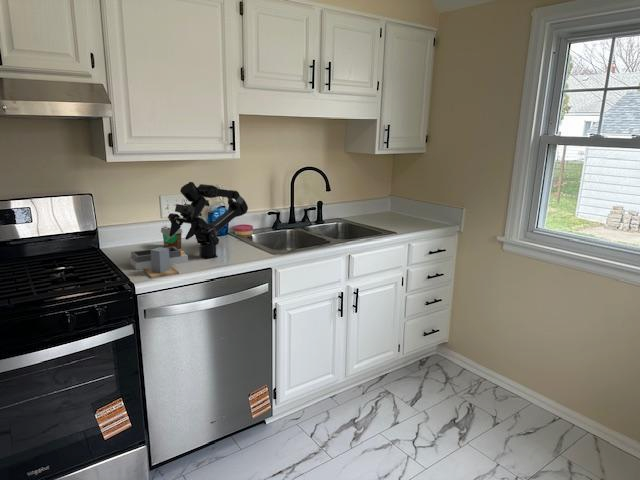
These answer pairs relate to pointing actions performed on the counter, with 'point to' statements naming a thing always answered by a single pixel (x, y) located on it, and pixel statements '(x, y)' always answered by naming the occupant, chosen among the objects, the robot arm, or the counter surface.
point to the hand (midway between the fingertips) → (178, 237)
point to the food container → (173, 240)
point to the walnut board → (156, 274)
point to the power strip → (144, 258)
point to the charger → (160, 259)
